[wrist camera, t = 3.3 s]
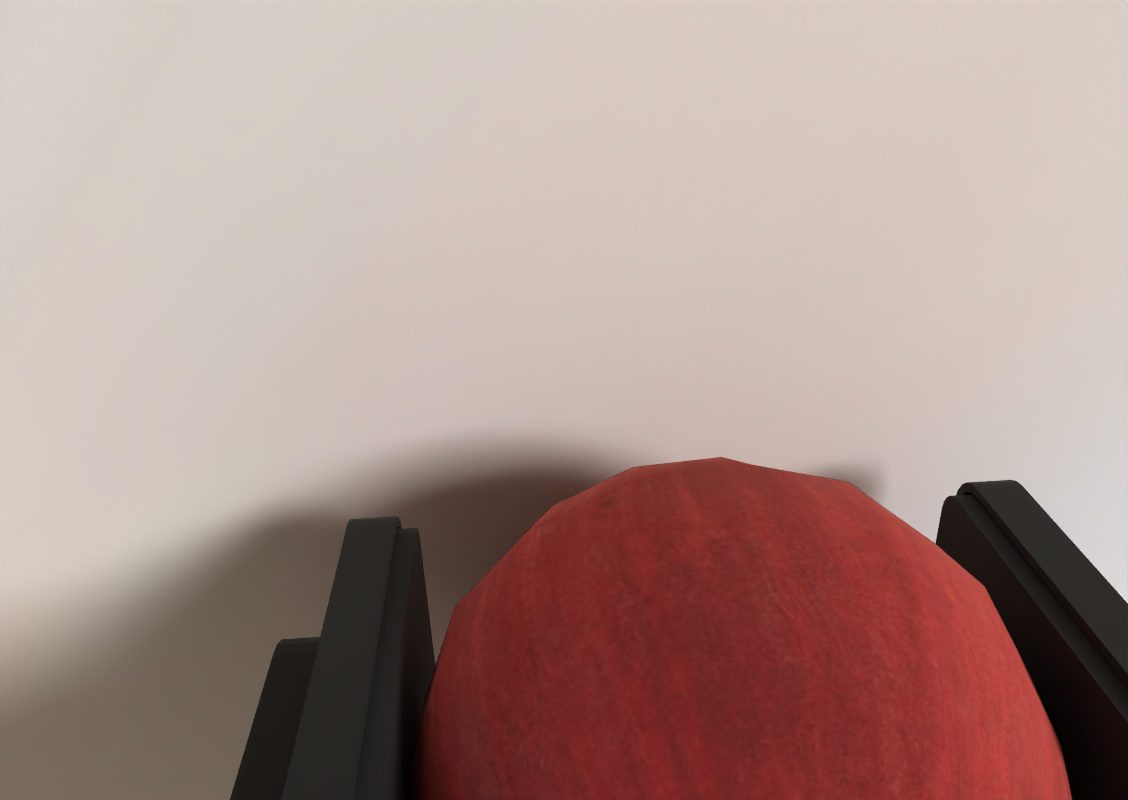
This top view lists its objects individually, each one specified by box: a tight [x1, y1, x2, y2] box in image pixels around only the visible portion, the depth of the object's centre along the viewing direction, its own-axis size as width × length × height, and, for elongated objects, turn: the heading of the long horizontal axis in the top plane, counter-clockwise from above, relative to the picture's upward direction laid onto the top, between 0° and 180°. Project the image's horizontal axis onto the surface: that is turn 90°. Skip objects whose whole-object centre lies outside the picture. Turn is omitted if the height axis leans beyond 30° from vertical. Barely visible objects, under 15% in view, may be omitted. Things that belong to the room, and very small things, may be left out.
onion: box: [409, 457, 1072, 800], centre depth 9 cm, size 6×6×8 cm
